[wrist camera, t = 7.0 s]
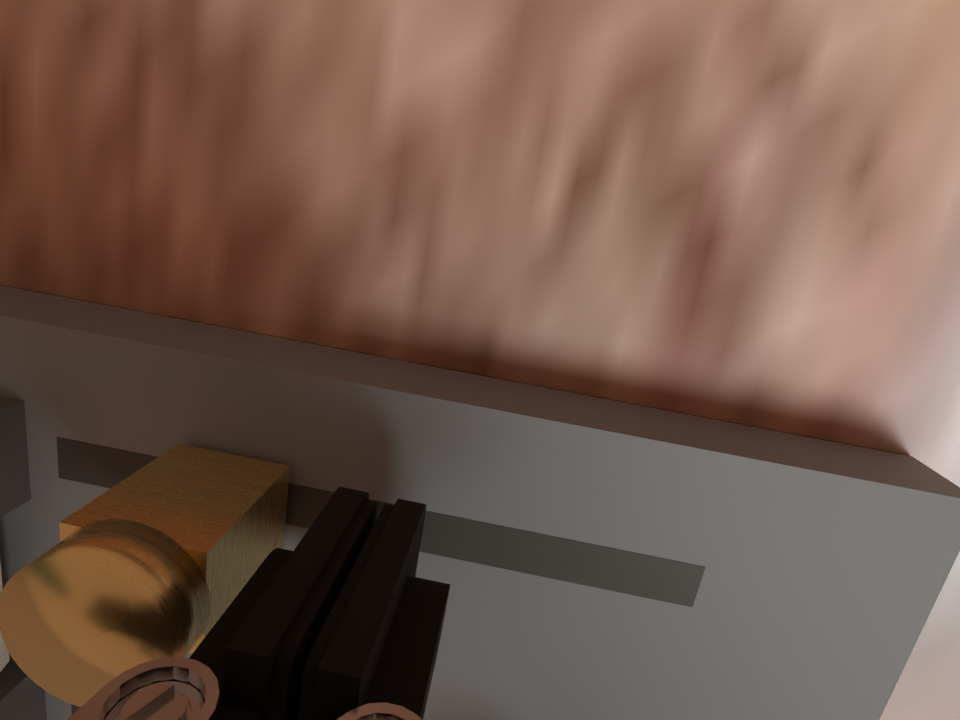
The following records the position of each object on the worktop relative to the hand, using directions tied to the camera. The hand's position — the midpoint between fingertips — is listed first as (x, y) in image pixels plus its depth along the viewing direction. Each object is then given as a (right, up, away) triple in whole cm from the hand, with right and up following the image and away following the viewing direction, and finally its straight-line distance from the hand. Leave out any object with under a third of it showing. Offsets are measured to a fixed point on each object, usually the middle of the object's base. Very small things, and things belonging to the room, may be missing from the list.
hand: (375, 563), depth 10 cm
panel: (-1, -2, +4) cm, 5 cm away
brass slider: (-3, +1, +1) cm, 4 cm away
